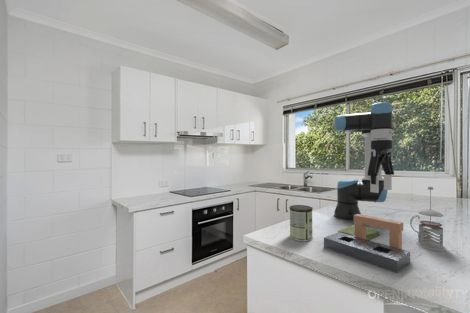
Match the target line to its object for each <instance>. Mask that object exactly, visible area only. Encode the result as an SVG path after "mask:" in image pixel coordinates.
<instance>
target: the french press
mask: <svg viewBox="0 0 470 313" xmlns="http://www.w3.org/2000/svg"><path fill="white" fill-rule="evenodd" d="M427 190H429V209H421V210H419V211H418V214H419V215H418V214H416V215H413V216H412V217H411V219H410V222H409V225H410V227H411V229H412V230H413V231H414V232H415V233H417V235H418V236H417V237H418V238H417V240H418V241H417V242H416V243H415V245H416V246H418V247H420V248H422V249H426V250H430V251H434V252H435V251H436V252H445V251H447V248H446V247H445V246H444V227H442V226H443V224H442V223H440V222H436V221H432V217H434V218H435V217H437V218H442V217H444V213H442V212H440V211H437V210H434V209H432V207H431V206H432V204H431V203H432V202H431V201H432V200H431V198H432V192H431V191H432V190H434V187H433V186H428V187H427ZM420 215H422V216H427V217H429V219H430V220H420V219H421V218H420ZM415 218H418V220H420V221H419V223H420V224H418V230H416V229H414V227H413V226H412V222H413V220H414V219H415Z"/></svg>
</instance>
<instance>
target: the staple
mask: <svg viewBox="0 0 470 313" xmlns="http://www.w3.org/2000/svg"><path fill="white" fill-rule="evenodd" d="M353 223H354V224H355V236H356V237H359V238H363V239H366V227H367V226H368V227H369V226H370V227H375V228H380V229H384V230H389V235H388V236H389V240H388V241H389V245H388V246H392V247H396V248H399V249H403V241H402V240H403V233H402V232H403V231H404V221H399V220H393V219H389V218H383V217H377V216H371V215H367V214H362V213H361V214H356V215H354V220H353Z"/></svg>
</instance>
